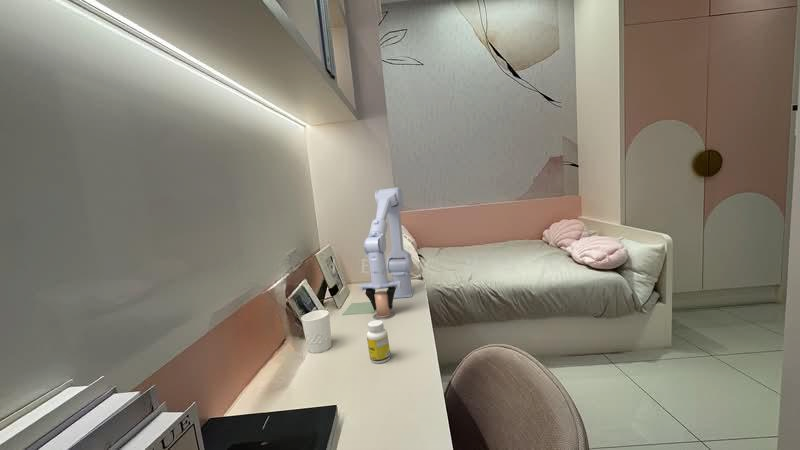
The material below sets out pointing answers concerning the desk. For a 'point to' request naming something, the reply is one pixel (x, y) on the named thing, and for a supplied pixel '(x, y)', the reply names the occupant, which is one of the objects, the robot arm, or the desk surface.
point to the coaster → (384, 318)
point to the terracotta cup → (382, 304)
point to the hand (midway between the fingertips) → (383, 308)
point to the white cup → (317, 331)
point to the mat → (359, 308)
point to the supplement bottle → (378, 342)
